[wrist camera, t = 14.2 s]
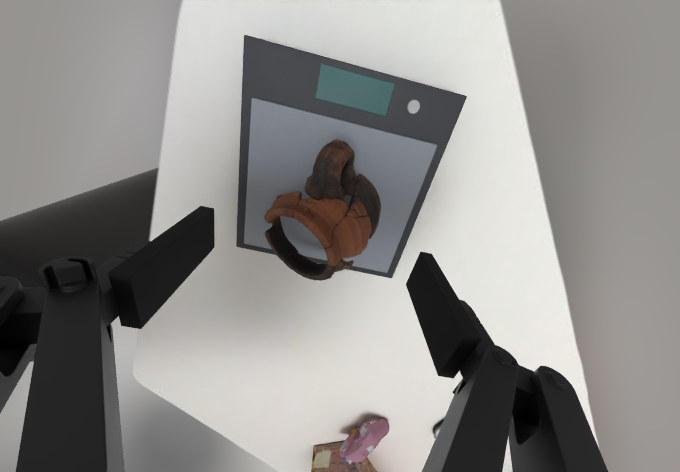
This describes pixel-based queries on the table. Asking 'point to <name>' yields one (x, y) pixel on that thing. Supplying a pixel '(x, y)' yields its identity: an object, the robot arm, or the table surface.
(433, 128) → the scale
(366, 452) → the video game controller
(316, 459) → the book
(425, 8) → the table surface
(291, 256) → the brown hollow arched part
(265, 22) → the table surface
